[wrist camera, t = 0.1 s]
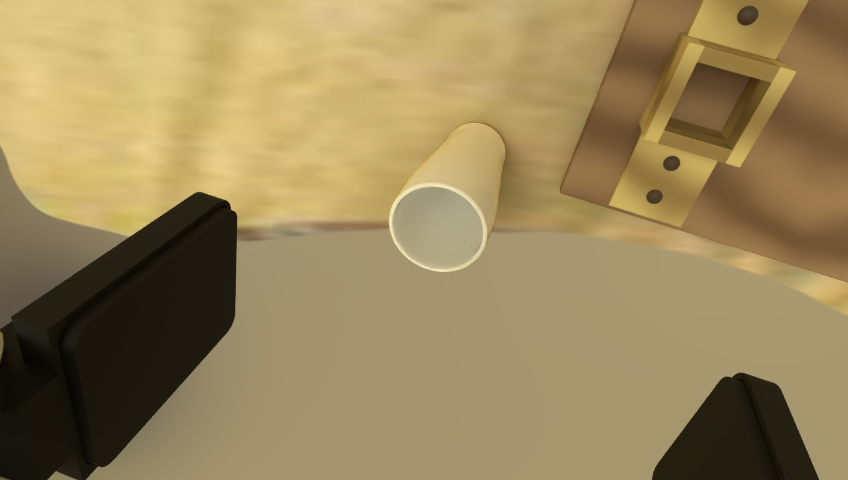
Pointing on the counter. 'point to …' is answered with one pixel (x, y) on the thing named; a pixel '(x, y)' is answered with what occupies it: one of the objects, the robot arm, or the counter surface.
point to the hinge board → (727, 126)
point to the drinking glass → (451, 201)
